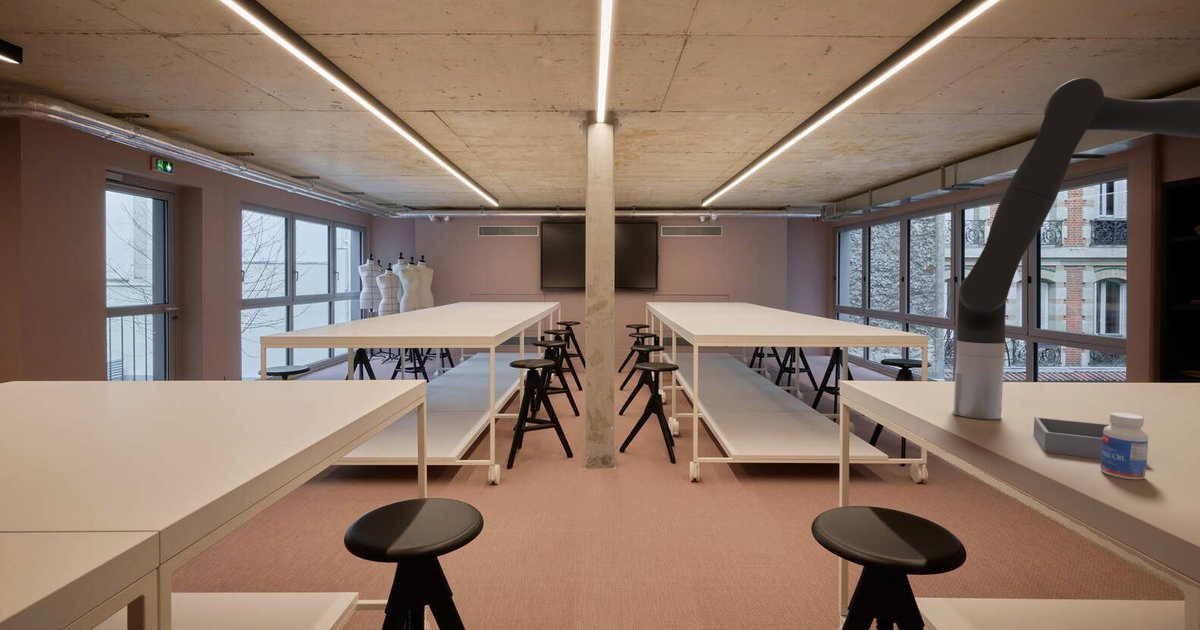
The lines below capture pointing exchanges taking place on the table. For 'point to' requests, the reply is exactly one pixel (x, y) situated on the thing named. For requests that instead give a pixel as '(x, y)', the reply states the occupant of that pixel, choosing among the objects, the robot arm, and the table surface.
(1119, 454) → the pill bottle
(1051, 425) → the tray
